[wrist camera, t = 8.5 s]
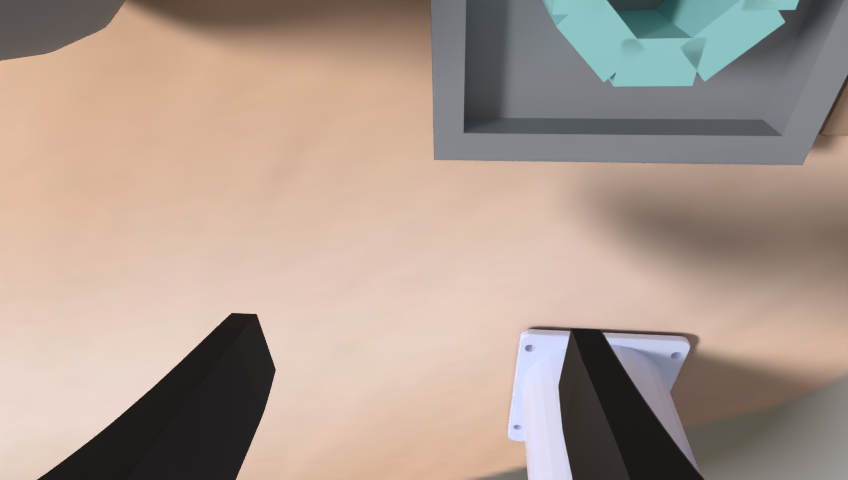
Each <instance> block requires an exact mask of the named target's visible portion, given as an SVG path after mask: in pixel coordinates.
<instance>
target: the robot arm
mask: <svg viewBox="0 0 848 480" xmlns="http://www.w3.org/2000/svg"><path fill="white" fill-rule="evenodd" d="M528 345H531V346H528ZM689 350H690V343H689V341H688V339H687V338H685V337H682V336H667V335H645V334H623V333H602V332H601V331H600V330H594V329H572V328H571V331H558V330H536V329H529V330H525V331H523V332H522V333H521V335H520V341H519V349H518V356H517V364H516V371H515V379H514V386H513V394H512V401H511V409H510V416H509V424H508V437H509V438H510V439H511V440H514V441H525V446H526V458H527V470H528V480H704V479H703V477H702V476H701V475H700V472H699V470H698V467H697V464H696V461H695V459H694V456H693V453H692V451H691V448H690V445H689V442H688V440H687V437H686V434H685V432H684V429H683V426H682V424H681V421H680V418H679V416H678V413H677V410H676V408H675V405H674V402H673V399H672V397H671V394H670V391H671V389H672V387H673V385H674V383H675V380H676V378H677V376H678V374H679V372H680V370H681V367H682V365H683V363H684V361H685V359H686V357H687V354H688V352H689ZM275 371H276V369H275V366H274V363H273V360H272V358H271V355H270V352H269V349H268V346H267V343H266V340H265V337H264V334H263V331H262V328H261V326H260V323H259V320H258V317H257V314H241V313H231V314H230V315H229V316H228V317H227V318H226V319H225V320H224V321H223V322H222V323H221V324H220V325H219V326H217V327H216V328H215V329H214V330H213V331H212V332H211V333H210V334H209V335H208V336H207V337H206V338H205V339H204V340H203V341H202V342H201V343H200V344H199V345H198V346H197V347H196V348H194V349H193V350H192V351H191V352H190V353H189V354H188V355H187V356H186V357H185V358H184V359H183V360H182V361H181V362H180V363H179V364H178V365H177V366H175V367H174V368H173V369H172V370H171V371H170V372H169V373H168V374H167V375H166V376H165V377H164V378H163V379H161V380H160V381H159V382H158V383H157V384H156V385H155V386H154V387H153V388H152V389H151V390H149V391H148V392H147V393H146V394H145V395H144V396H143V397H141V398H140V399H139V400H138V401H137V402H136V403H134V404H133V405H132V406H131V407H130V408H129V409H128V410H126V411H125V412H124V413H123V414H122V415H121V416H119V417H118V418H117V419H116V420H115V421H114V422H112V423H111V424H110V425H109V426H108V427H106V428H105V429H104V430H103V431H101V432H100V433H99V434H98V435H96V436H95V437H94V438H93V439H91V440H90V441H89V442H88V443H86V444H85V445H84V446H82V447H81V448H80V449H78V450H77V451H76V452H74V453H73V454H72V455H70V456H69V457H68V458H67V459H65V460H64V461H63V462H61V463H60V464H59V465H57V466H56V467H54V468H53V469H52V470H50V471H49V472H48V473H46V474H45V475H43V476H42V477H40V478H39V479H37V480H236V478H237V475H238V473H239V470H240V468H241V466H242V463H243V461H244V459H245V456H246V454H247V452H248V449H249V447H250V445H251V442H252V440H253V437H254V435H255V432H256V430H257V428H258V425H259V423H260V420H261V418H262V415H263V413H264V410H265V407H266V403H267V400H268V397H269V393H270V390H271V386H272V382H273V378H274V375H275Z"/></svg>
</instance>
